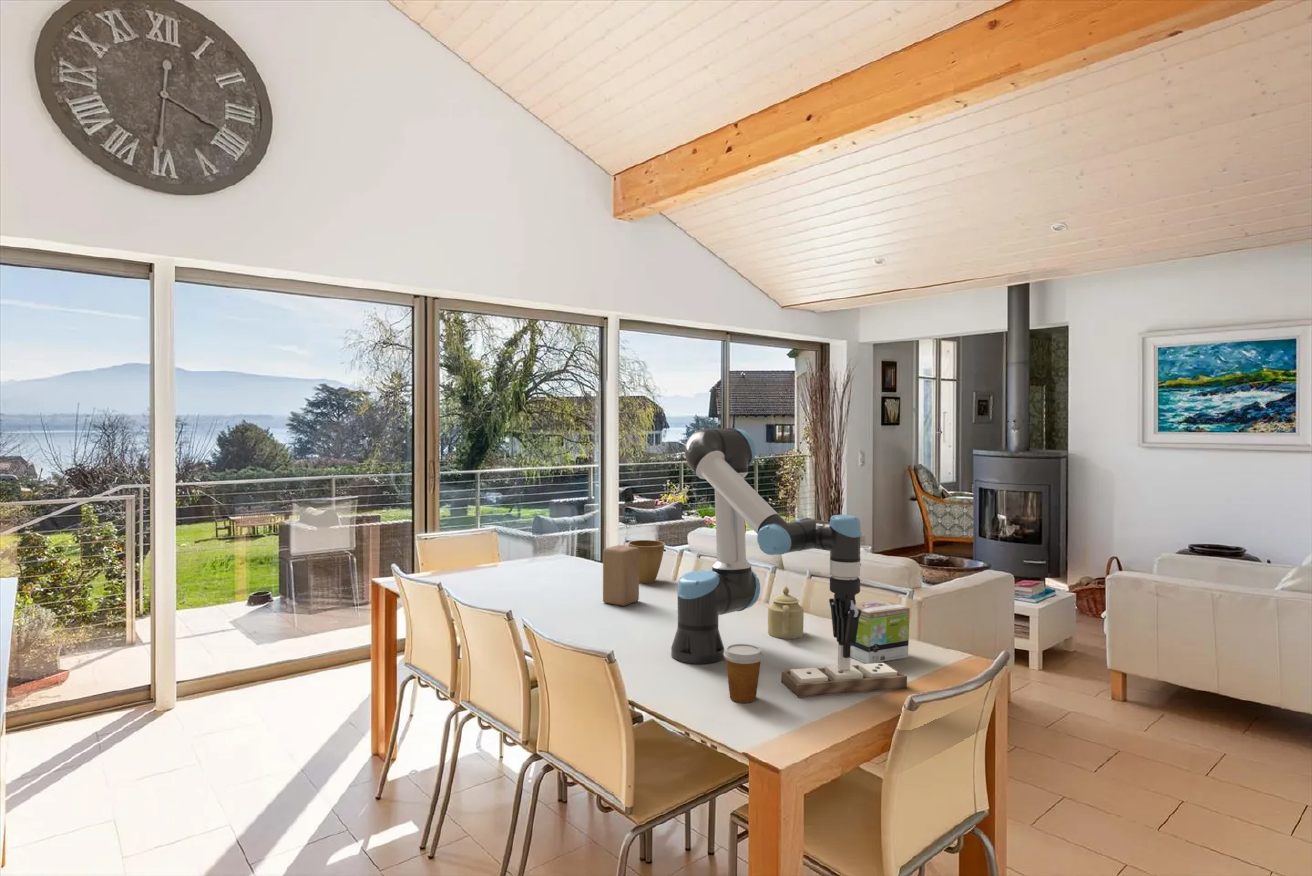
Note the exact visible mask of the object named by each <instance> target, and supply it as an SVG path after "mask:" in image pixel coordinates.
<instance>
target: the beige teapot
mask: <svg viewBox="0 0 1312 876" xmlns="http://www.w3.org/2000/svg"><path fill="white" fill-rule="evenodd" d="M782 593H783V594H779V595H776V596H775V597H773V598H772V603H771V604H769V605H768V606H767V633H768V635H769V636H771V637H773V638H777V639H784V640H785V639H786V640H790V639H793V640H794V638H795V639H799V638H802V637H803V636H804V613H805V612H804V607H803V606H802V605H800V604H799V602H800V600H799V599H798V598H796V597H795V596H794V595H790V594H789V593H790V589H789V588H788V586H784V587H783V589H782Z"/></svg>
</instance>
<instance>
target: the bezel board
mask: <svg viewBox="0 0 1312 876" xmlns="http://www.w3.org/2000/svg"><path fill="white" fill-rule="evenodd" d="M883 663H884V664H886V665H887V666H889V667H891V668H892V669H894V670H895V671H897V676H889V677H876V678H870V677H869V676H867V675H866V674H864V673H863V672H862V671H860V670H859V664H854V665H853V664H852V666H853V667H854V668H856V669H857V670H859V671H860V672H862V673H863V679H850V680H837V681H836V680H834V679H833V678H832V677H830V676H829V675H828V674H827V673H825V666H824V667H816V668H817V669H818V670H820V671H821V672H822V673H823V674H825V675H826V676H827V677H828V681H824V682H812V683H799V682H798V681H797V680H795V679H794V678H793V677H792V676H791V675H790V670H791V669H786V670H781V671H780V676H781V677H780V679H781V681H780V682H781V684H783V685H784V687H786V688H787V689H788V691H790V692H791V693H792V694H793V695H794V696H796V697H797V698H803V697H804V698H807V697H819V696H820V697H821V696H831V695H842V694H844V695H845V694H853V693H854V694H855V693H856V694H857V693H867V692H879V691H890V690H891V691H892V690H903V689H904V690H905V689H908V676H907V675H905V674H904V673H902V672H901V671H899V670H897V669H896V668H894V667H893V666H891V665H889V664H888V663H886V662H883Z"/></svg>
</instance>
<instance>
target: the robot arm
mask: <svg viewBox="0 0 1312 876" xmlns="http://www.w3.org/2000/svg"><path fill="white" fill-rule="evenodd" d="M756 453H757V452H756V445H755V441H754V439H753V437H752V436H751V435H749V433H748V432H747V431H745V430H744V429H741V428H733V427H726V428H722V427H721V428H718V427H717V428H702V429H701V428H700V429H698V430H696V431H695V432H693V433H692V434H691V435H690V436H689V437H688V439H687V440H686V443H685V446H684V457H685V460H686V463H687V465H688V467H689V468H690V469H691V471H692V473H694V474H695V476H696V477H698V478H699V479H700V480H706V481H707V483H709V485H711V487H712V488H713V489H714V507H715V508H714V509H715V510H714V512H715V515H714V516H715V537H716V538H715V539H716V560H715V562H714V563H713V564H712V566H711V570H708V569H701V570H693V571H689V572H687V573H684V574H682V575H681V576H680V577H679V579H678V584H677V591H676V592H677V627H676V632H675V635H674V639H673V641H672V645H671V648H670V649H671V651H670V654H671V655H670V656H671V657H672V659H675V660H676V661H679V662H682V663H687V664H695V665H696V664H698V665H700V664H703V665H704V664H712V663H716V662H719V661H721V660H723V659H725V656H724V652H725V647H724V643H723V639H722V637H721V633H720V629H719V616H721V615H725V614H726V615H727V614H731V613H734V612H742V611H744V610H746V609H749V608H751V607H752V606H754V605H755V604H756V603H757V601H758V599H759V596H760V594H761V582H760V579H759V577H758V576H757V574H756V572H755V571H753V570H752V564H751V563H750V562H749V561H748V560H747V554H746V553H747V551H746V550H747V549H746V548H747V547H746V524H747V525H748V526H749V527H750V528H751V529H752V530H753V531H754V532H755V533H756V534H757V536H756V541H757V544H758V546H759V549H760V550H761V551H762V552H763V553H764V554H766V555H769V556H776V555H780V556H781V555H785V554H788V553H794V552H801V551H806V550H812V549H813V550H815V549H816V550H823V551H827V552H829V575H830V576H829V591H830V592H831V593H833V594H834V595H833V598H829V600H828V602H829V607H830V613H831V614H830V615H831V624H832V633H833V635H832V636H833V638H835V639H836V642H837V665H838V669H839V670H850V665H851V657H850V647H851V645H852V644H856V637H857V630H858V622H859V617H860V615H861V610H860V609H857V608H856V606H855V605H856V604H857V602H856V595H858V594H860V593H861V578H860V576H861V567H862V563H861V545H862V544H861V540H862V539H861V538H862V532H861V531H862V530H861V529H862V527H861V520H860V518H859V517H858V516H856V515H850V514H848V515H847V514H834V515H832V516H831V517H830V518H829V519H830V521H827V520H820V519H815V518H814V519H813V518H810V517H807V518H806V517H804V518H803V517H798V518H796V519H795V520H794V521H792V522H791V521H790V522H787V521H786V520H785V519H784V518H783V517H782V516H781V515H780V514H779V513H778V512H776V510H775V509H774V508H773V507H772V506H771V505H770V504H769V503H768V502H767V500H765V499H764V498H763V497H762V496H761V495H760V494H759V493H758V492H757V491H756V489H754V488H753V486H751V485H750V484H749V483H748V482H747V481H746V479H745V478H746V476H747V475H748V474H749V466H750V465H751V464H752V463H753V462H754V459H755V457H756ZM745 522H746V523H745Z"/></svg>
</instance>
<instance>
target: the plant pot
mask: <svg viewBox="0 0 1312 876" xmlns="http://www.w3.org/2000/svg"><path fill="white" fill-rule="evenodd" d="M665 544H666V543H665V542H663V541H659V540H649V539H637V540H631V541H629V542H628V546H630V547H637V548H639V584H653V583H655V582H656V579H657V577H658V574H659V571H660V567H661V564H662V562H663V561H662V560H663V556H664V550H665V546H666V545H665Z"/></svg>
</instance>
